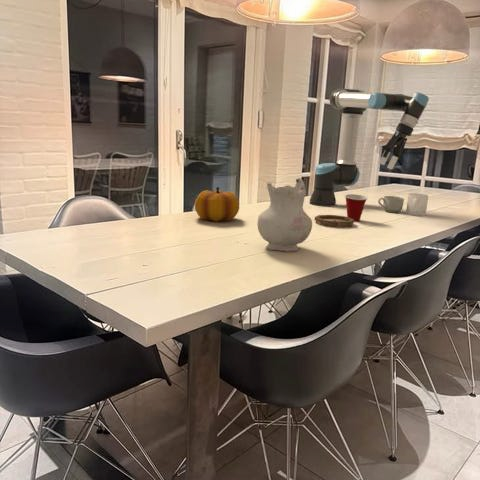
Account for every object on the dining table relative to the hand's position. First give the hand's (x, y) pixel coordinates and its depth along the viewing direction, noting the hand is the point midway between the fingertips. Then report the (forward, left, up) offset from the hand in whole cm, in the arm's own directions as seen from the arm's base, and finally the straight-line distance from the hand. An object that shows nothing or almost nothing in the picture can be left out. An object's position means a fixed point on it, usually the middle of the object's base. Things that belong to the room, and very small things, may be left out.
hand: (385, 166), depth 233 cm
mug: (-11, +31, -26) cm, 42 cm away
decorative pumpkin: (-8, -82, -27) cm, 87 cm away
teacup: (-20, +21, -26) cm, 39 cm away
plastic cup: (+1, -15, -26) cm, 31 cm away
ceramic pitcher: (+45, -72, -26) cm, 89 cm away
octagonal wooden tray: (+8, -30, -26) cm, 41 cm away
